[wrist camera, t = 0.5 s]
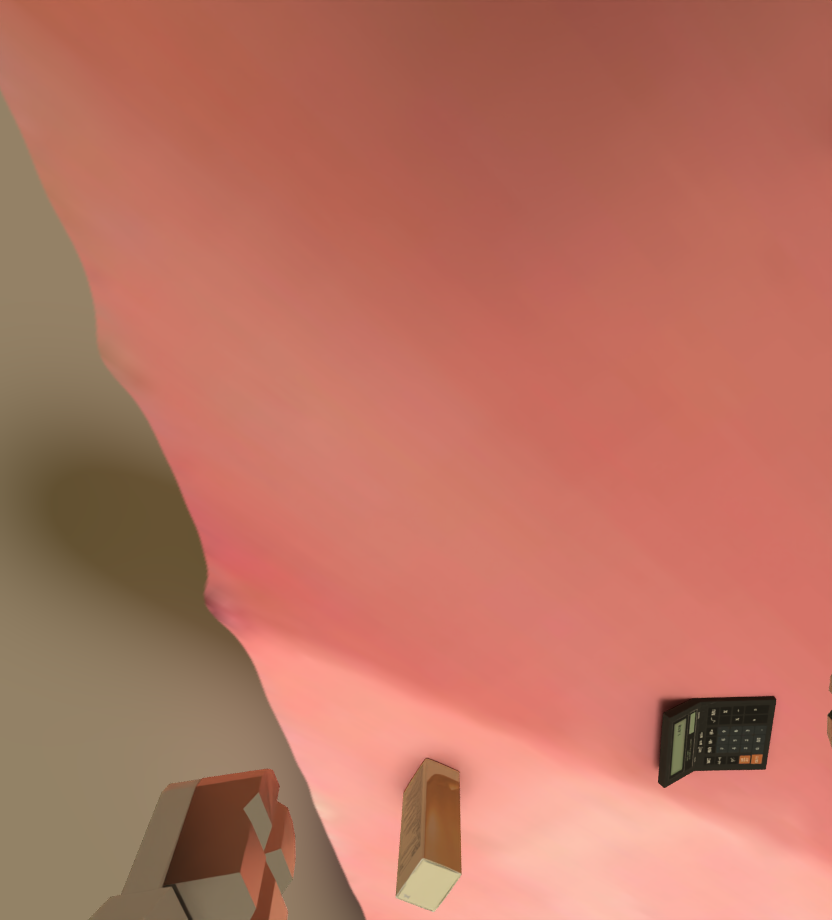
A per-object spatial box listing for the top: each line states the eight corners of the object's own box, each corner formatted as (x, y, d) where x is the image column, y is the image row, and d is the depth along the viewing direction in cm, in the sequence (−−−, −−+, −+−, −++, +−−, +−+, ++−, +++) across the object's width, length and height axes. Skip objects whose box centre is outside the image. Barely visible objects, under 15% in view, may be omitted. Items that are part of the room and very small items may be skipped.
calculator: (762, 763, 69) (775, 786, 66) (651, 765, 70) (660, 788, 67) (772, 693, 66) (786, 715, 63) (656, 697, 67) (665, 718, 64)
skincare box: (436, 806, 73) (433, 915, 62) (402, 792, 73) (392, 900, 62) (462, 769, 71) (464, 876, 60) (426, 754, 71) (422, 860, 59)
